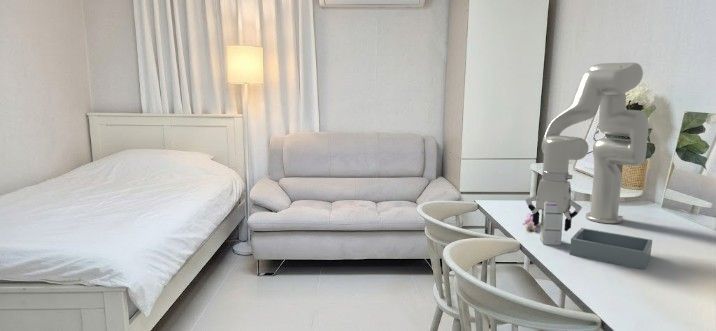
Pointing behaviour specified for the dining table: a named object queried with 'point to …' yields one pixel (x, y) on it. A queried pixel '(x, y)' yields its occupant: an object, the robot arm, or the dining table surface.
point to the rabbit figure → (530, 223)
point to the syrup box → (551, 224)
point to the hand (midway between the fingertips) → (551, 227)
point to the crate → (611, 248)
